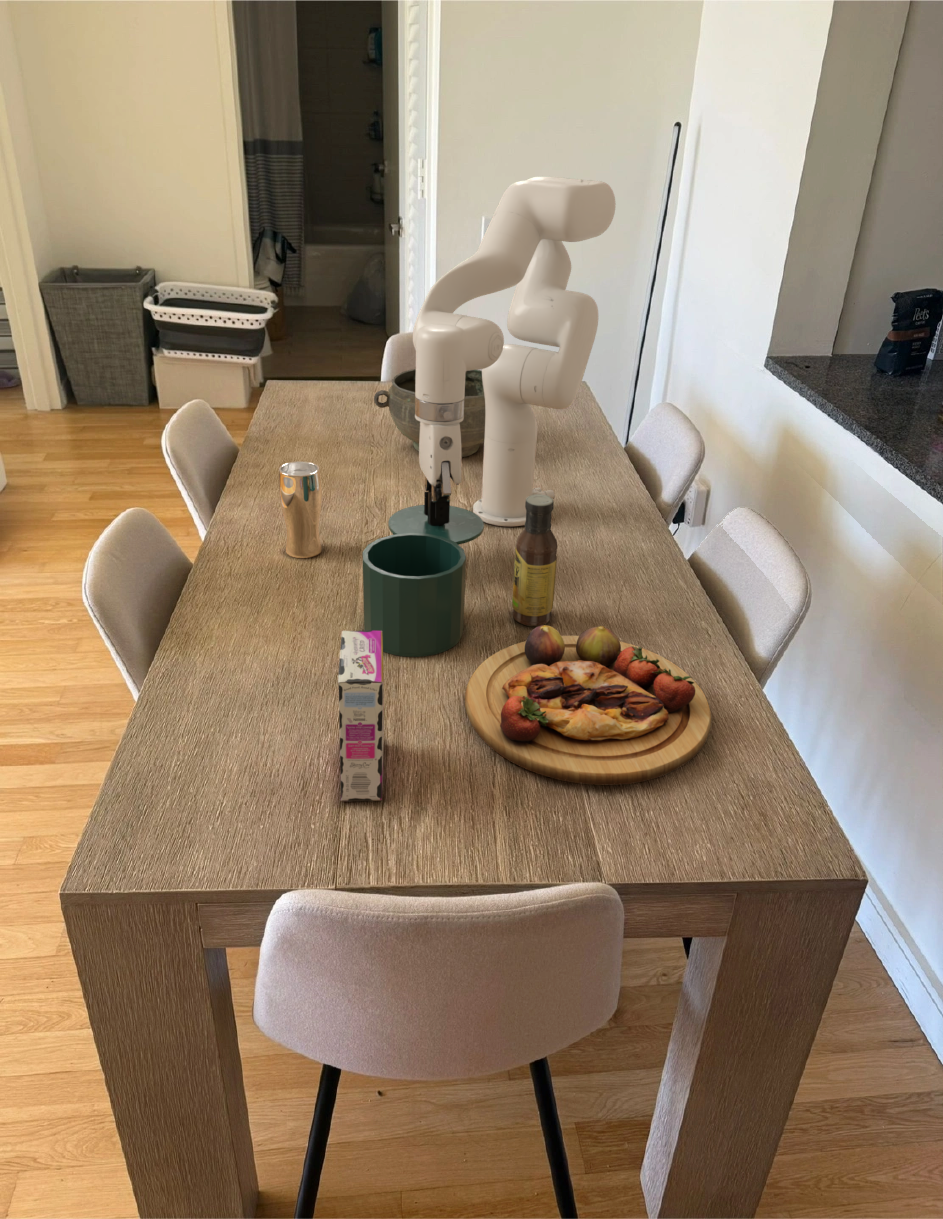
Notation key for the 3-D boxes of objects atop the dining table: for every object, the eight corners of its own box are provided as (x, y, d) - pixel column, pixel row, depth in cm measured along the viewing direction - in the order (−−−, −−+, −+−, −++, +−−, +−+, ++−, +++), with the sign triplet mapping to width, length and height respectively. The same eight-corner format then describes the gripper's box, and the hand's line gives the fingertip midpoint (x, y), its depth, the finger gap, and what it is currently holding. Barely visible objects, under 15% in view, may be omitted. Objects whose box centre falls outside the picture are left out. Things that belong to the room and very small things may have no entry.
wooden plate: (545, 822, 106) (550, 764, 102) (424, 677, 130) (424, 626, 126) (762, 747, 119) (775, 693, 115) (615, 629, 143) (622, 580, 139)
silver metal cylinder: (316, 561, 159) (312, 478, 152) (277, 556, 160) (271, 473, 153) (329, 544, 165) (326, 463, 158) (291, 539, 166) (286, 458, 159)
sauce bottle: (517, 604, 149) (526, 486, 139) (556, 612, 147) (567, 493, 137) (505, 623, 143) (513, 502, 134) (545, 632, 142) (555, 509, 132)
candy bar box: (384, 802, 108) (383, 682, 99) (340, 803, 107) (335, 683, 99) (384, 741, 117) (383, 628, 109) (343, 742, 117) (339, 628, 109)
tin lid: (456, 505, 164) (458, 468, 161) (500, 540, 152) (503, 501, 149) (373, 518, 157) (373, 481, 154) (412, 556, 146) (413, 516, 142)
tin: (436, 598, 149) (437, 526, 143) (480, 643, 138) (484, 567, 132) (349, 617, 143) (347, 542, 137) (388, 666, 132) (387, 587, 126)
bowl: (506, 426, 224) (509, 363, 216) (531, 466, 202) (536, 397, 194) (369, 429, 218) (368, 364, 211) (380, 470, 196) (379, 399, 189)
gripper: (477, 424, 139) (471, 538, 148) (450, 392, 153) (446, 498, 162) (427, 426, 137) (425, 541, 146) (404, 394, 151) (403, 501, 160)
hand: (436, 517), depth 154 cm, fingers closed on tin lid, 2 cm apart
